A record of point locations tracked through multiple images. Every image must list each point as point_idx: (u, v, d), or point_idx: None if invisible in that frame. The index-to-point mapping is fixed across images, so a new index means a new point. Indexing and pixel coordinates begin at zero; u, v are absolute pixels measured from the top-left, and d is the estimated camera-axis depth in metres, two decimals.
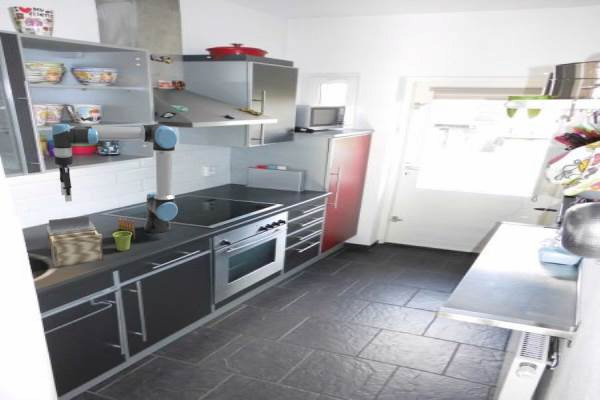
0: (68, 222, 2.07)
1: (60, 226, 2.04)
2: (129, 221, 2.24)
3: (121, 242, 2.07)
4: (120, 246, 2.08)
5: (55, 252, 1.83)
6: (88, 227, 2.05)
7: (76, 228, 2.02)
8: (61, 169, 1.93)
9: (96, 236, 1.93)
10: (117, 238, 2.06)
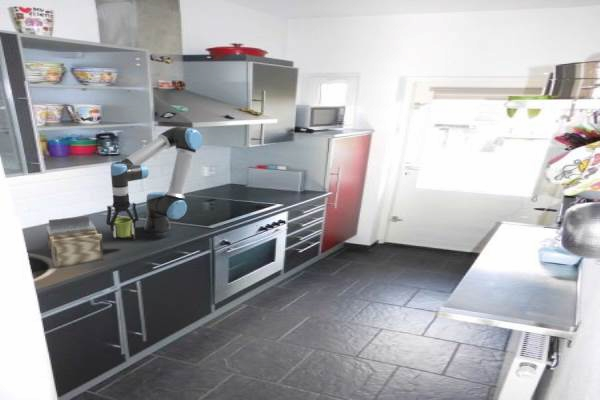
0: (68, 222, 2.07)
1: (60, 226, 2.04)
2: None
3: (122, 228, 2.06)
4: (120, 233, 2.07)
5: (55, 252, 1.83)
6: (88, 227, 2.05)
7: (76, 228, 2.02)
8: None
9: (96, 236, 1.93)
10: (117, 224, 2.05)
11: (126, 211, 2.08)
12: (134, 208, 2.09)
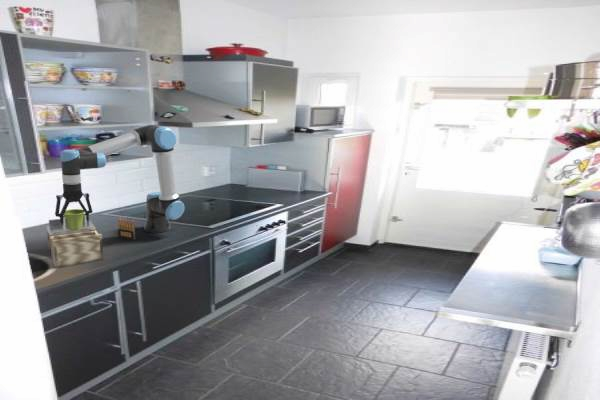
0: None
1: (60, 226, 2.04)
2: (129, 221, 2.24)
3: (72, 220, 1.88)
4: (70, 225, 1.88)
5: (55, 252, 1.83)
6: (88, 227, 2.05)
7: None
8: None
9: (96, 236, 1.93)
10: (67, 216, 1.87)
11: None
12: (87, 199, 1.92)
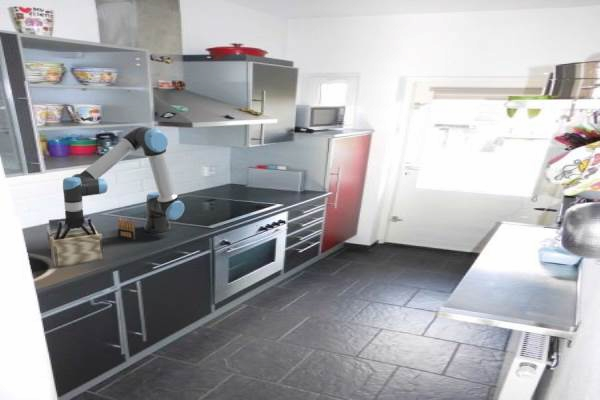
0: None
1: None
2: (129, 221, 2.24)
3: None
4: None
5: (55, 252, 1.83)
6: (88, 227, 2.05)
7: (76, 228, 2.02)
8: None
9: (96, 236, 1.93)
10: None
11: (81, 227, 1.94)
12: (90, 224, 1.95)
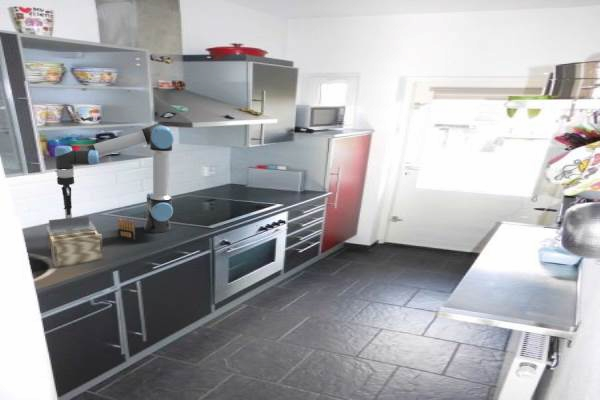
0: (68, 222, 2.07)
1: (60, 226, 2.03)
2: (129, 221, 2.24)
3: None
4: None
5: (55, 252, 1.83)
6: (89, 227, 2.05)
7: (76, 228, 2.02)
8: (63, 190, 2.02)
9: (96, 236, 1.93)
10: None
11: None
12: None
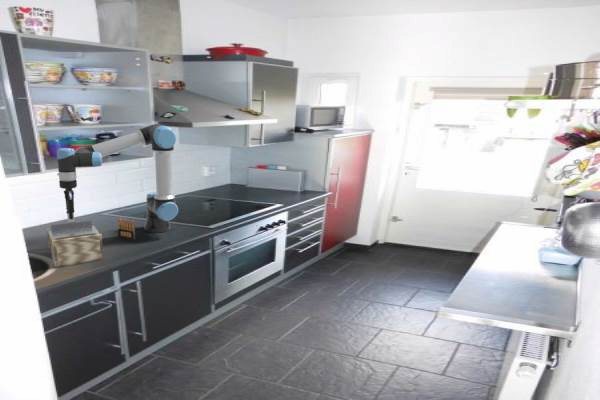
0: (71, 227, 2.01)
1: (62, 231, 1.97)
2: (129, 221, 2.24)
3: None
4: None
5: (55, 252, 1.83)
6: (92, 232, 1.99)
7: (79, 233, 1.96)
8: (66, 193, 1.96)
9: (96, 236, 1.93)
10: None
11: None
12: None
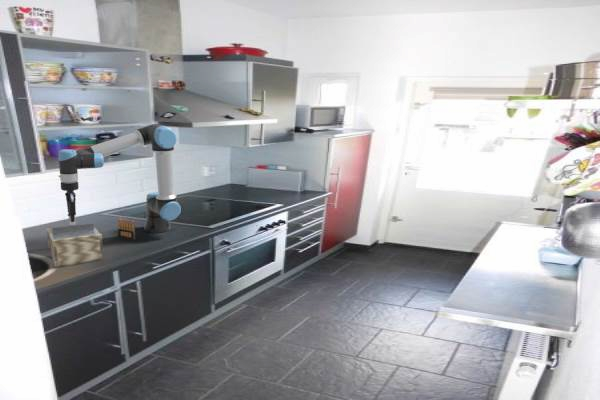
0: (72, 229, 1.97)
1: (64, 234, 1.94)
2: (129, 221, 2.24)
3: None
4: None
5: (55, 252, 1.83)
6: None
7: None
8: (67, 195, 1.93)
9: (96, 236, 1.93)
10: None
11: None
12: None
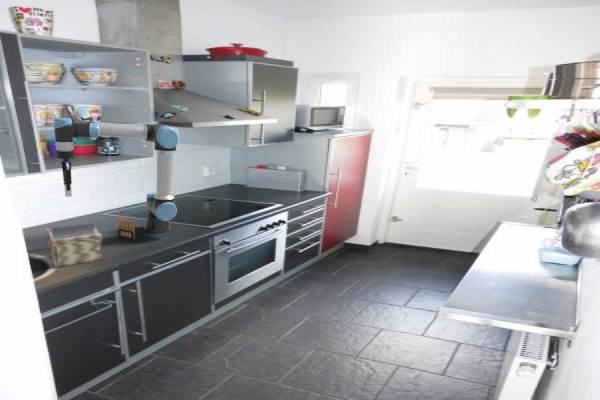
0: (72, 229, 1.97)
1: (64, 234, 1.94)
2: (129, 221, 2.24)
3: None
4: None
5: (55, 252, 1.83)
6: None
7: None
8: (63, 164, 1.94)
9: (96, 236, 1.93)
10: None
11: None
12: None
